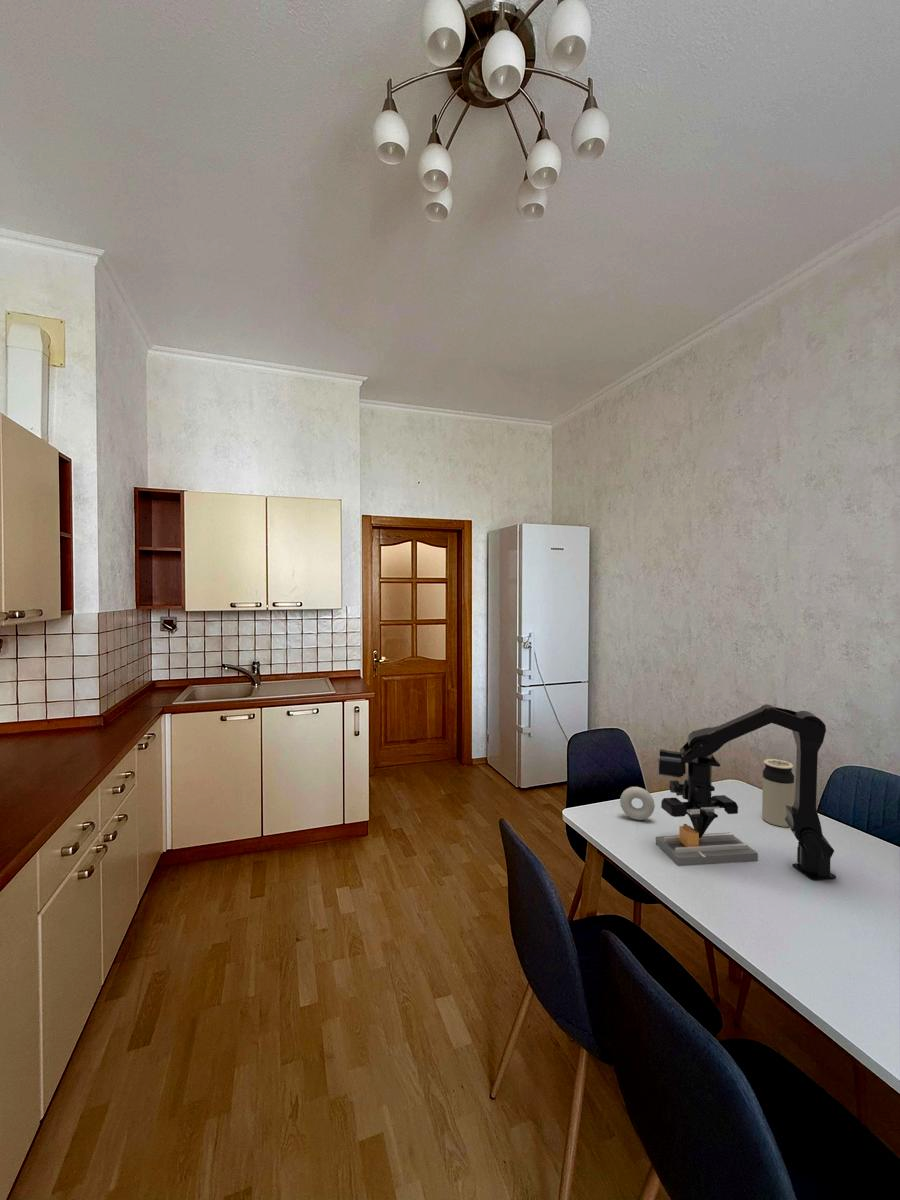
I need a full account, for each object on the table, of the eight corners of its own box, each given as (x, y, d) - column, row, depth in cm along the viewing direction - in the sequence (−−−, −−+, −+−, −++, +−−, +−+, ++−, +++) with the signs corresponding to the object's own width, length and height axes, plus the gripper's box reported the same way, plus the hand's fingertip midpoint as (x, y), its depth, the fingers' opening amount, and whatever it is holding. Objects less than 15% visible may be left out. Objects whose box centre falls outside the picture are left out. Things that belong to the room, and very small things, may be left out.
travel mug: (798, 828, 145) (799, 768, 145) (768, 826, 147) (769, 766, 147) (786, 816, 153) (786, 759, 153) (757, 814, 155) (758, 757, 154)
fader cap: (698, 847, 130) (698, 830, 130) (687, 848, 130) (688, 831, 130) (689, 840, 134) (689, 823, 134) (679, 840, 134) (679, 824, 134)
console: (758, 861, 128) (758, 849, 128) (678, 866, 126) (679, 854, 125) (728, 838, 139) (728, 828, 139) (655, 843, 137) (655, 832, 137)
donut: (654, 819, 151) (654, 787, 151) (654, 824, 148) (655, 791, 148) (620, 814, 155) (620, 782, 155) (619, 819, 152) (619, 786, 151)
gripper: (712, 767, 141) (712, 821, 141) (651, 770, 139) (650, 824, 139) (739, 782, 130) (739, 841, 130) (673, 785, 128) (672, 844, 128)
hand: (698, 837), depth 132 cm, fingers closed
